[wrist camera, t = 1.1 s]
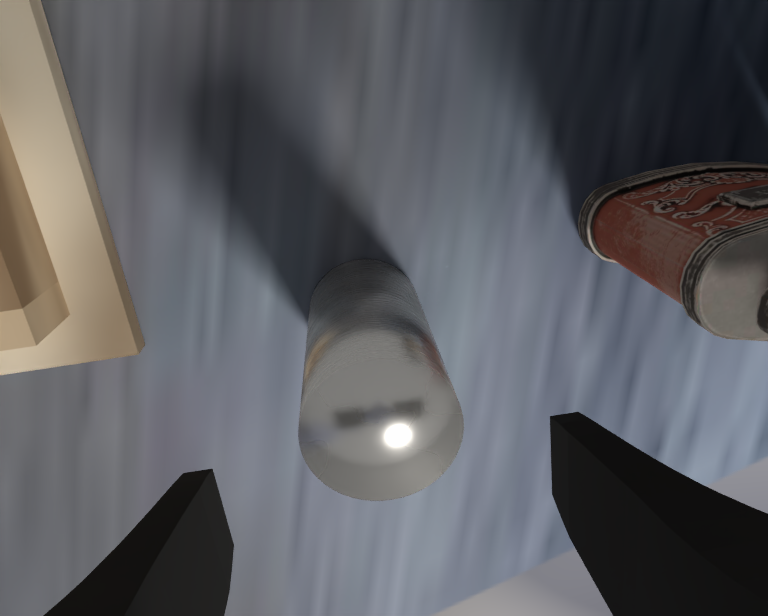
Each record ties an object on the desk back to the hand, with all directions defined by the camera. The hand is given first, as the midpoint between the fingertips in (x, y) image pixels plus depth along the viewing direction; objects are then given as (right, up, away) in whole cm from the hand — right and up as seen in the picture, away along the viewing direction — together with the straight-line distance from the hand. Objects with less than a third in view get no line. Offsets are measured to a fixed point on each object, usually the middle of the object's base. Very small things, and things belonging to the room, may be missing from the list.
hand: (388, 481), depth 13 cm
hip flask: (+11, +7, +9) cm, 16 cm away
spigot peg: (-1, +4, +9) cm, 10 cm away
